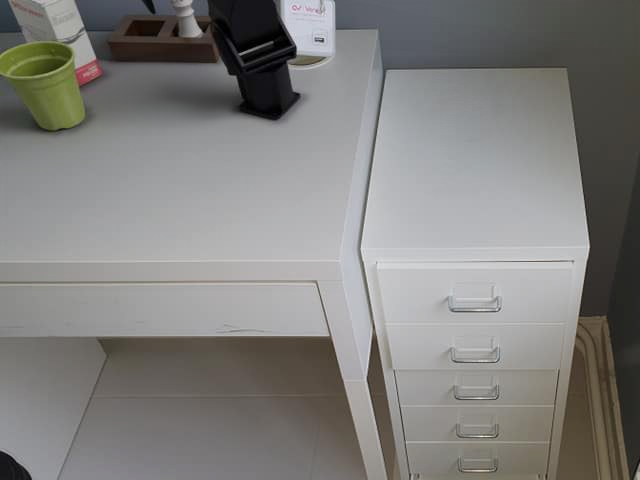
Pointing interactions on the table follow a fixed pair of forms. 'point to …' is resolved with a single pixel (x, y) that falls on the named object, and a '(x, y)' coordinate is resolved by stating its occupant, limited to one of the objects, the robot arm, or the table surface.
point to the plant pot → (45, 82)
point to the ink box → (58, 31)
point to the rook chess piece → (186, 19)
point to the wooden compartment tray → (161, 40)
